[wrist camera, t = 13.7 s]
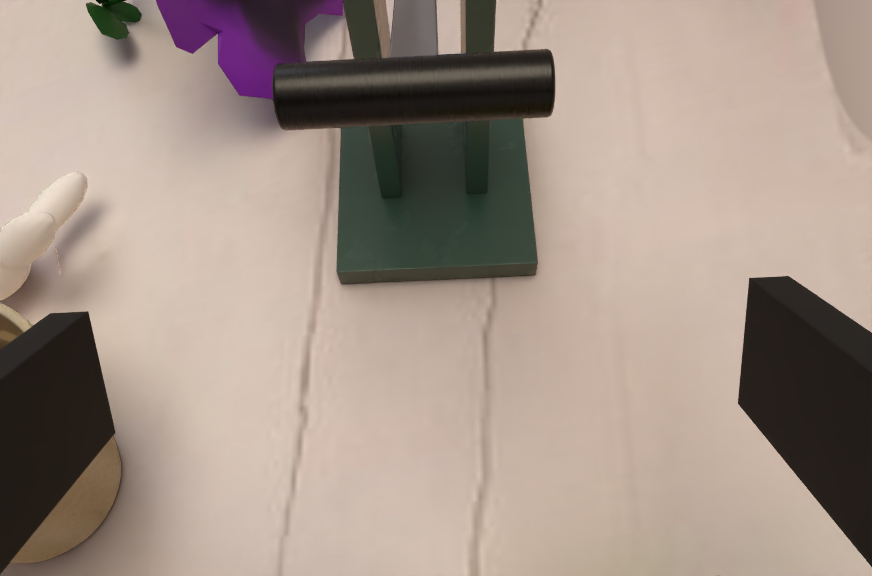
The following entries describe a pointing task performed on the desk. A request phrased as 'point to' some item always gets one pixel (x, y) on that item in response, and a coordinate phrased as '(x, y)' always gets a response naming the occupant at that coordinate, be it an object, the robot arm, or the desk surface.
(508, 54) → the lever
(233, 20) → the flower
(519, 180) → the bracket
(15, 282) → the rabbit figurine
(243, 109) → the desk surface
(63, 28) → the desk surface
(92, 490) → the flower pot
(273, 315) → the desk surface
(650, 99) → the desk surface
